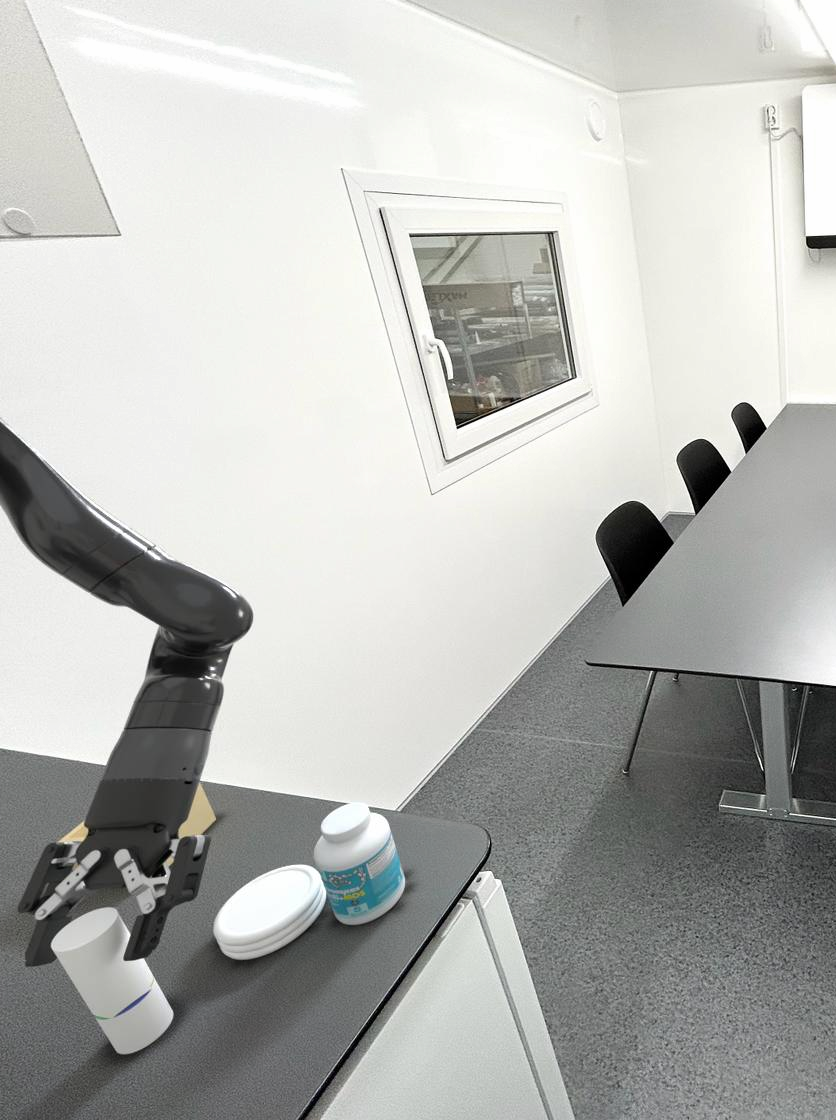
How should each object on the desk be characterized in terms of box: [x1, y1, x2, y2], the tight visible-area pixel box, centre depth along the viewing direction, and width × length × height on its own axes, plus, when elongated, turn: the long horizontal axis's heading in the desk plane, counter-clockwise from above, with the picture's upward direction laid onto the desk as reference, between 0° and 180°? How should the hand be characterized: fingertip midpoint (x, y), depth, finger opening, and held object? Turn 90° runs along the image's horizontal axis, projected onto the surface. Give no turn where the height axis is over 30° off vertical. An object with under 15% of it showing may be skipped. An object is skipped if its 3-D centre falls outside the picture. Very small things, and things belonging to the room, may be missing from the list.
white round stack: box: [212, 864, 327, 961], centre depth 74 cm, size 10×10×4 cm
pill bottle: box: [313, 802, 406, 926], centre depth 75 cm, size 8×7×14 cm
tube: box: [51, 906, 175, 1055], centre depth 61 cm, size 4×4×15 cm
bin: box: [57, 781, 217, 878], centre depth 83 cm, size 9×9×7 cm
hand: (88, 962), depth 58 cm, fingers open, 8 cm apart
